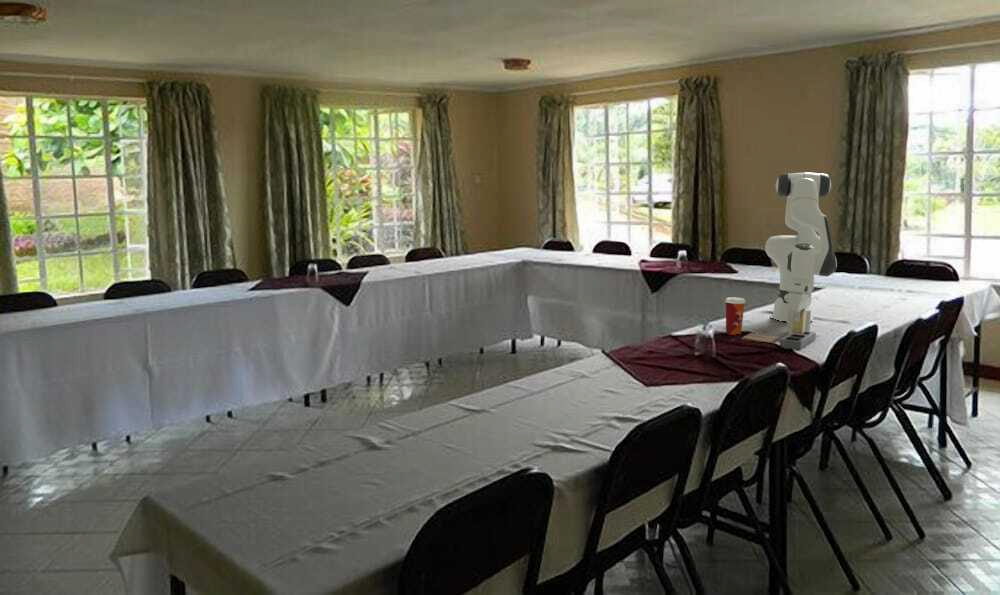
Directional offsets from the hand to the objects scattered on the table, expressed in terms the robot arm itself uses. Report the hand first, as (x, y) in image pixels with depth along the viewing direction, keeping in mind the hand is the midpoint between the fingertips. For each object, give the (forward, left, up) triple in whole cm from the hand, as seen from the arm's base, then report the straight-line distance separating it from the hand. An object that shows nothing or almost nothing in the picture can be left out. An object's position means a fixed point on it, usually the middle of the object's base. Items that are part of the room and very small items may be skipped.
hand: (799, 319), depth 308 cm
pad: (+2, -14, -10) cm, 17 cm away
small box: (-19, -5, -10) cm, 22 cm away
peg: (0, 0, -5) cm, 5 cm away
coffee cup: (-3, -27, -10) cm, 29 cm away
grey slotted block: (0, 0, -10) cm, 10 cm away
